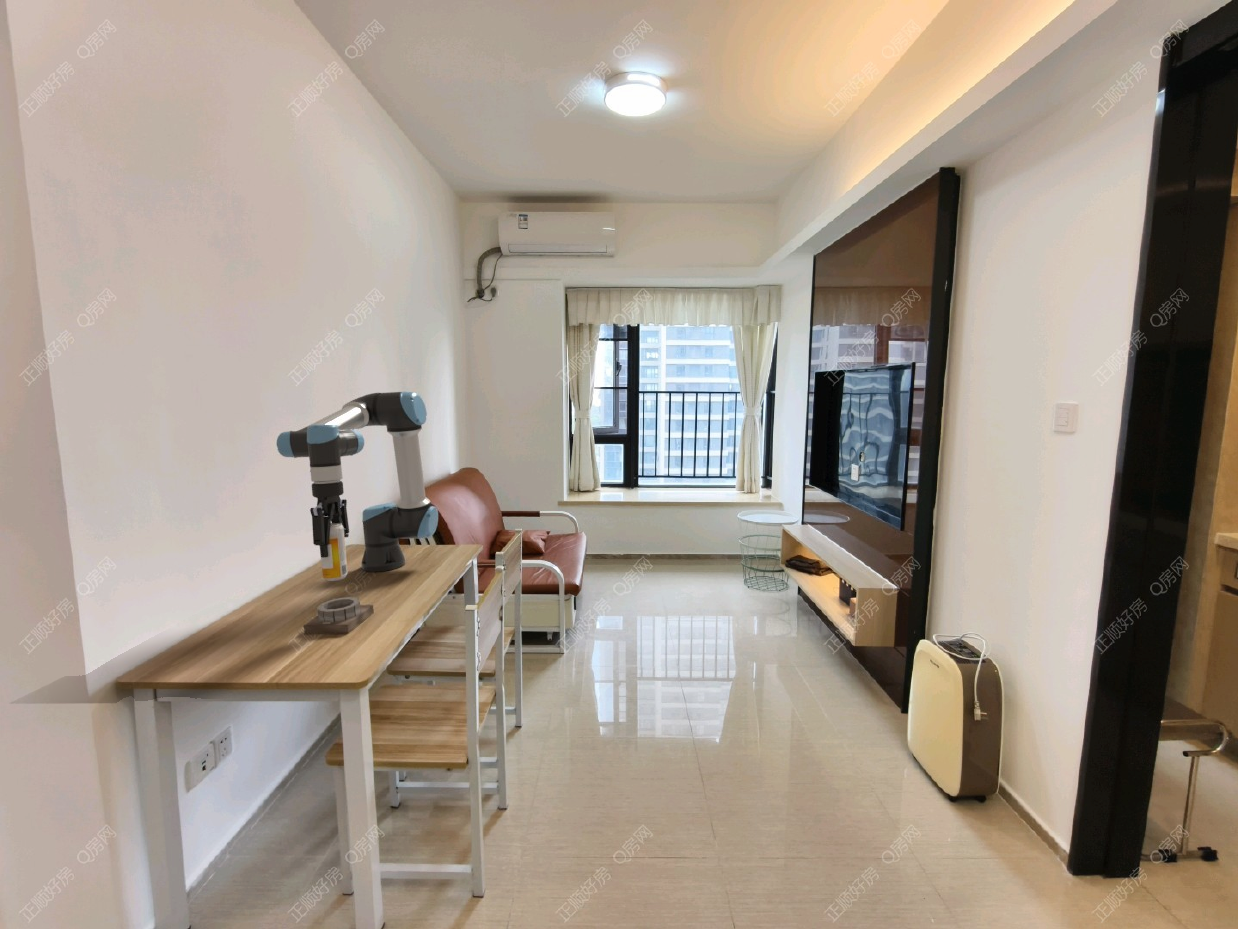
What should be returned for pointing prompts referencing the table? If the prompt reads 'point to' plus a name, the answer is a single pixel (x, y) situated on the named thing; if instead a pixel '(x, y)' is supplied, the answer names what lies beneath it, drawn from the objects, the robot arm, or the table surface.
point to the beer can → (336, 554)
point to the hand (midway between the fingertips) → (334, 564)
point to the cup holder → (338, 616)
